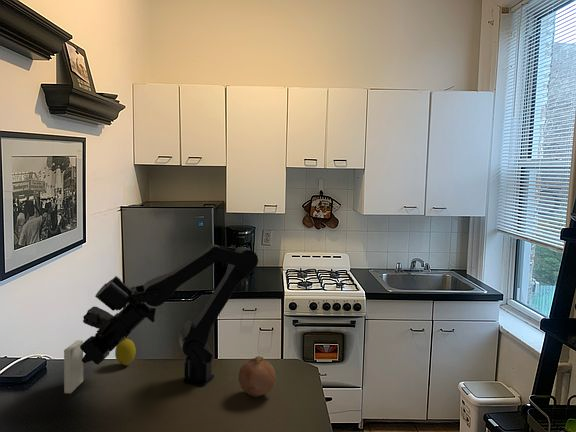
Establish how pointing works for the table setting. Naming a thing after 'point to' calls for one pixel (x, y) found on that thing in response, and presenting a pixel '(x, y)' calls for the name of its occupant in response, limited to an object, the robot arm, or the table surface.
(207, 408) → the table surface
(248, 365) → the onion
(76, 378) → the tile
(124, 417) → the table surface
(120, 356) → the lemon
